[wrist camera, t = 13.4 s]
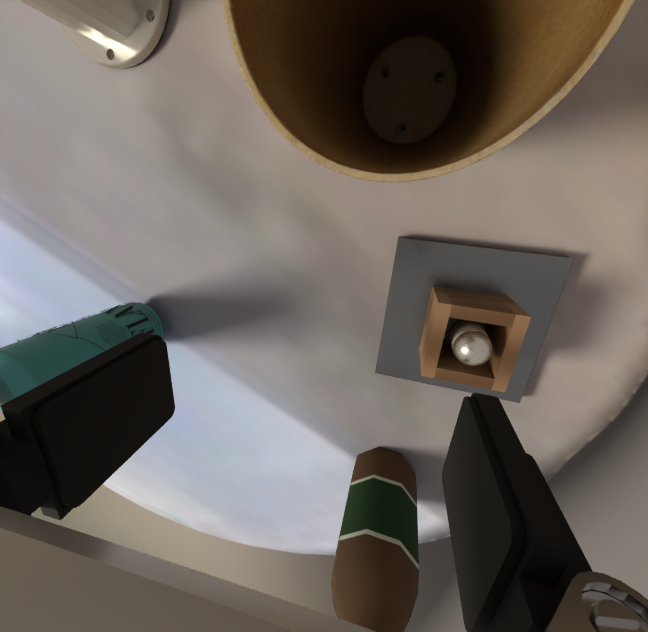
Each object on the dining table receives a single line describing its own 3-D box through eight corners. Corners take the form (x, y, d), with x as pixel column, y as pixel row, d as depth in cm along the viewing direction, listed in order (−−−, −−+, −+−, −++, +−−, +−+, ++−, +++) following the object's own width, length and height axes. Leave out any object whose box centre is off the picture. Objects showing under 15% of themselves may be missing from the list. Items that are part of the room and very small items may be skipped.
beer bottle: (341, 470, 40) (258, 794, 18) (374, 433, 37) (325, 772, 15) (391, 505, 39) (370, 877, 18) (430, 471, 36) (463, 872, 14)
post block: (398, 236, 29) (395, 246, 21) (567, 256, 26) (629, 275, 19) (376, 367, 34) (367, 411, 26) (515, 395, 31) (548, 454, 23)
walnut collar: (432, 285, 28) (438, 302, 23) (508, 296, 27) (531, 316, 22) (419, 348, 30) (421, 375, 25) (488, 360, 29) (505, 392, 24)
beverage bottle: (183, 325, 39) (-20, 431, 20) (156, 353, 41) (-44, 469, 23) (146, 286, 38) (-97, 358, 20) (122, 317, 41) (-111, 406, 22)
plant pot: (307, 176, 29) (205, 144, 14) (343, -33, 23) (237, -429, 9) (468, 212, 27) (540, 217, 12) (551, -11, 21) (872, -504, 6)
